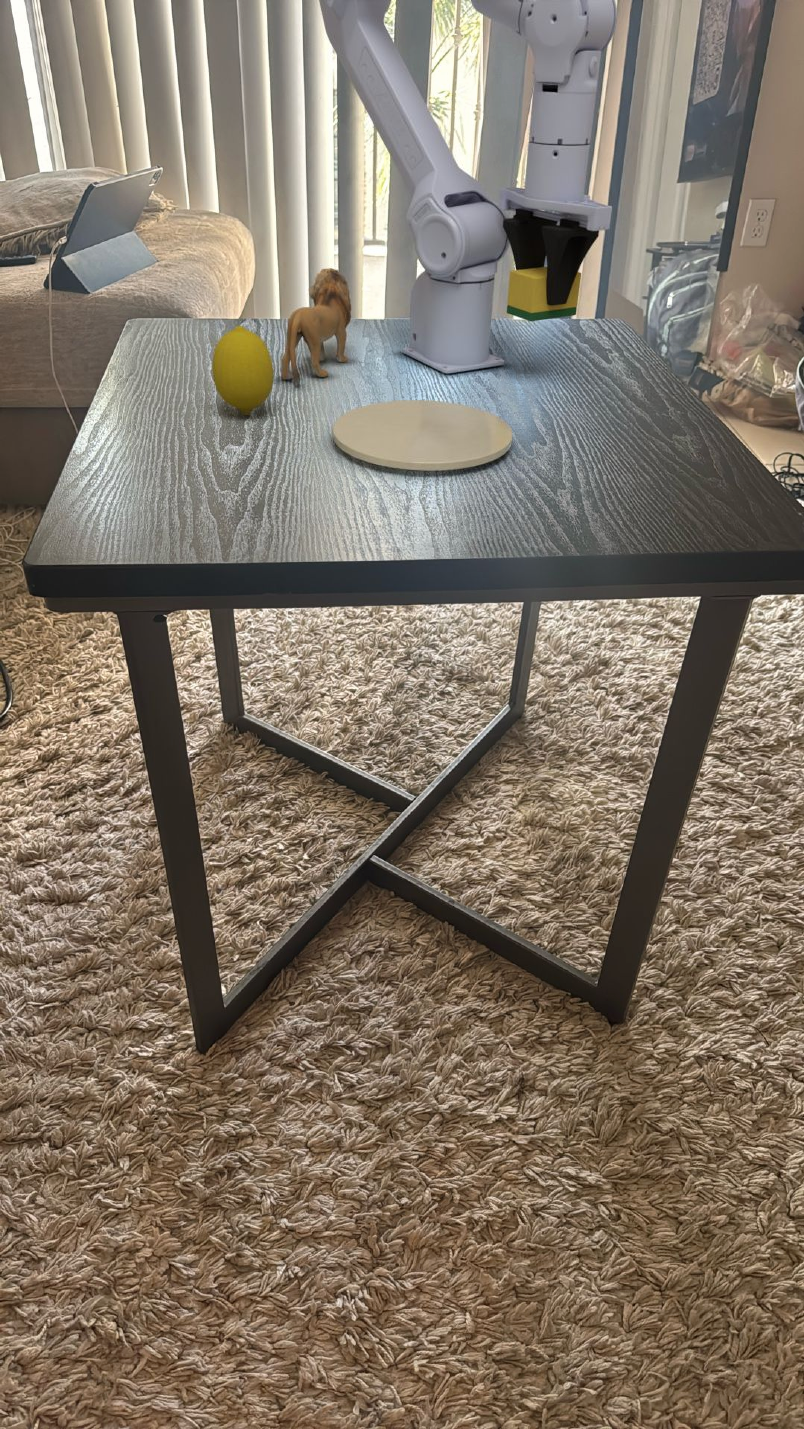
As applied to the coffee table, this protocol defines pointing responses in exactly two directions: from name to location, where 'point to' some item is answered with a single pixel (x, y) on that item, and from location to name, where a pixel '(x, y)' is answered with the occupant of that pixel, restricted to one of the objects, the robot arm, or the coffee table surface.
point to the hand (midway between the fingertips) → (542, 299)
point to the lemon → (242, 369)
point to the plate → (422, 435)
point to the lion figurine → (319, 323)
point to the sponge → (537, 296)
